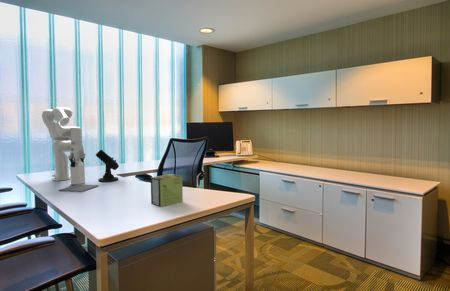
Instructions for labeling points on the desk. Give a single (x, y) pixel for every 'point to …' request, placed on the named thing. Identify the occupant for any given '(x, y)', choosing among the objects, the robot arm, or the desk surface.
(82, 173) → the milk carton
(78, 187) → the rubber mat
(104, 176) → the microphone
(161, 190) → the protein box
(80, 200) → the desk surface
